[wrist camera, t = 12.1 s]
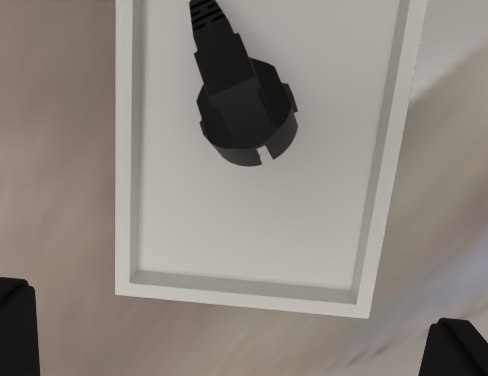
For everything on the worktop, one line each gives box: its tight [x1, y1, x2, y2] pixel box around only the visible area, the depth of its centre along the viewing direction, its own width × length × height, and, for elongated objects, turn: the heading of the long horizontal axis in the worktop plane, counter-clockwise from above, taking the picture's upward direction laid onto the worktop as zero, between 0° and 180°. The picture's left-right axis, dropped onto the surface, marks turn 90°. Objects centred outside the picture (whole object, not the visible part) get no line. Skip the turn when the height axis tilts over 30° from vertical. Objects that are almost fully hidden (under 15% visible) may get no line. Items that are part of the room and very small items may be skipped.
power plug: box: [189, 0, 298, 167], centre depth 26 cm, size 6×8×12 cm
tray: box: [115, 0, 428, 319], centre depth 27 cm, size 26×18×2 cm
